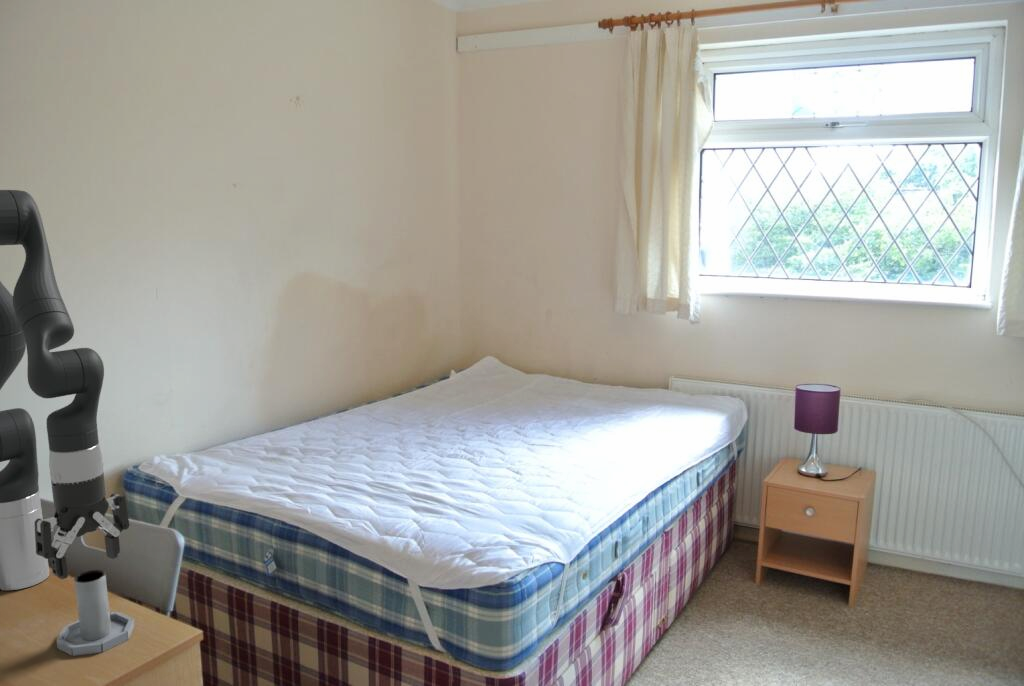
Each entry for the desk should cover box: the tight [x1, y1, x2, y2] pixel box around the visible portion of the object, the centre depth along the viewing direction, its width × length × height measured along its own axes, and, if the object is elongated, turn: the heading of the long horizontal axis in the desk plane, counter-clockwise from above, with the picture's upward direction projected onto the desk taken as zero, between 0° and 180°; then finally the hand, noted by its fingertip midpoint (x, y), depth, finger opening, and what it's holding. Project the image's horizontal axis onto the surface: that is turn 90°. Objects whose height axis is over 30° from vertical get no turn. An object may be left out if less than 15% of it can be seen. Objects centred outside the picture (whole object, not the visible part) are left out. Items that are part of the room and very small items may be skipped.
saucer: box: [55, 611, 135, 657], centre depth 138 cm, size 11×11×1 cm
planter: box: [74, 569, 111, 640], centre depth 137 cm, size 4×4×10 cm
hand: (87, 567), depth 136 cm, fingers open, 8 cm apart
